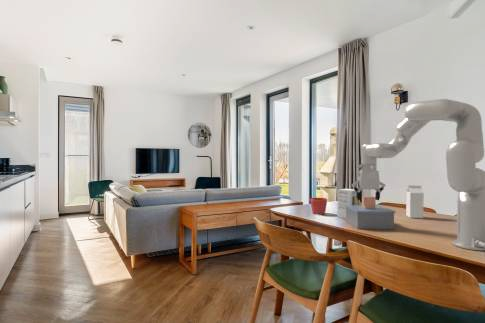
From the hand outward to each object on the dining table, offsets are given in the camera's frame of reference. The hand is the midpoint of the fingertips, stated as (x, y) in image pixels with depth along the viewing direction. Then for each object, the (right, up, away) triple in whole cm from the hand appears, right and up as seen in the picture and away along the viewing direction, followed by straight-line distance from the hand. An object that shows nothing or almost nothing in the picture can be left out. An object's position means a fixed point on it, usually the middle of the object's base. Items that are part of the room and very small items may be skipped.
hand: (368, 199), depth 159 cm
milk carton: (+37, -13, +21) cm, 44 cm away
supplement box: (-3, -13, +20) cm, 24 cm away
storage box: (0, -13, 0) cm, 13 cm away
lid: (0, -7, 0) cm, 7 cm away
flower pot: (-18, -13, +32) cm, 39 cm away
